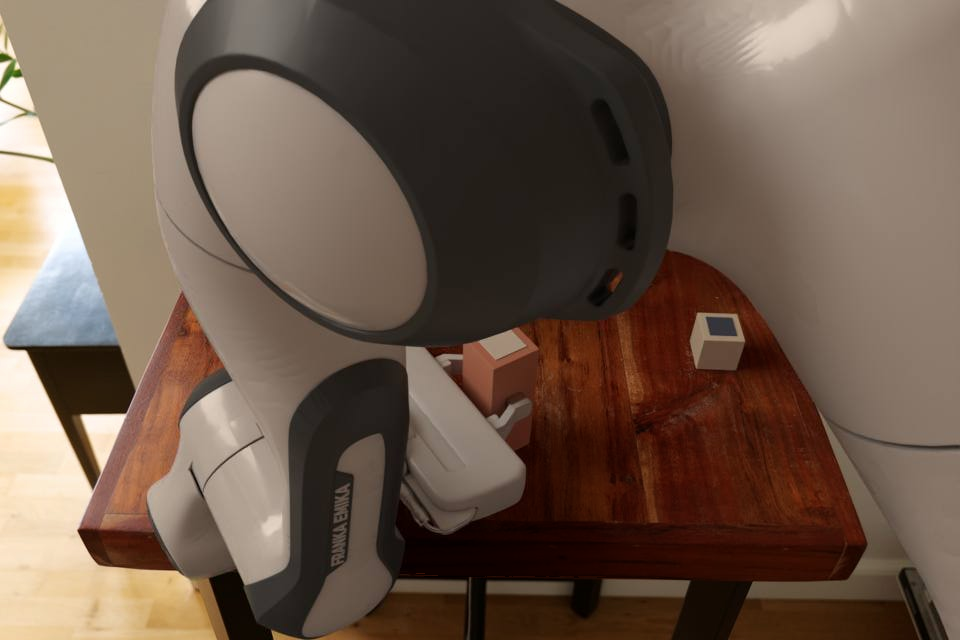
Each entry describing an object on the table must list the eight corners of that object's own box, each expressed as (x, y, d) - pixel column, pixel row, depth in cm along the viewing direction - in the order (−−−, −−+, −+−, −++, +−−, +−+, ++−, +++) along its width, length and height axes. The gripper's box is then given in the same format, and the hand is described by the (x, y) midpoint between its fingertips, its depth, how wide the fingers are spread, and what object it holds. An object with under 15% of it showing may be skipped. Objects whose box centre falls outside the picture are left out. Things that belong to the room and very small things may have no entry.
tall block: (529, 443, 77) (539, 348, 69) (488, 464, 75) (493, 369, 67) (501, 411, 80) (508, 316, 72) (461, 431, 78) (463, 335, 70)
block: (736, 370, 85) (745, 340, 82) (695, 369, 85) (704, 339, 82) (728, 342, 88) (737, 313, 85) (689, 341, 88) (697, 311, 85)
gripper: (429, 517, 59) (586, 435, 65) (304, 343, 72) (445, 287, 77) (430, 567, 63) (577, 486, 69) (312, 394, 76) (445, 338, 82)
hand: (506, 380), depth 73 cm, fingers closed on tall block, 4 cm apart
